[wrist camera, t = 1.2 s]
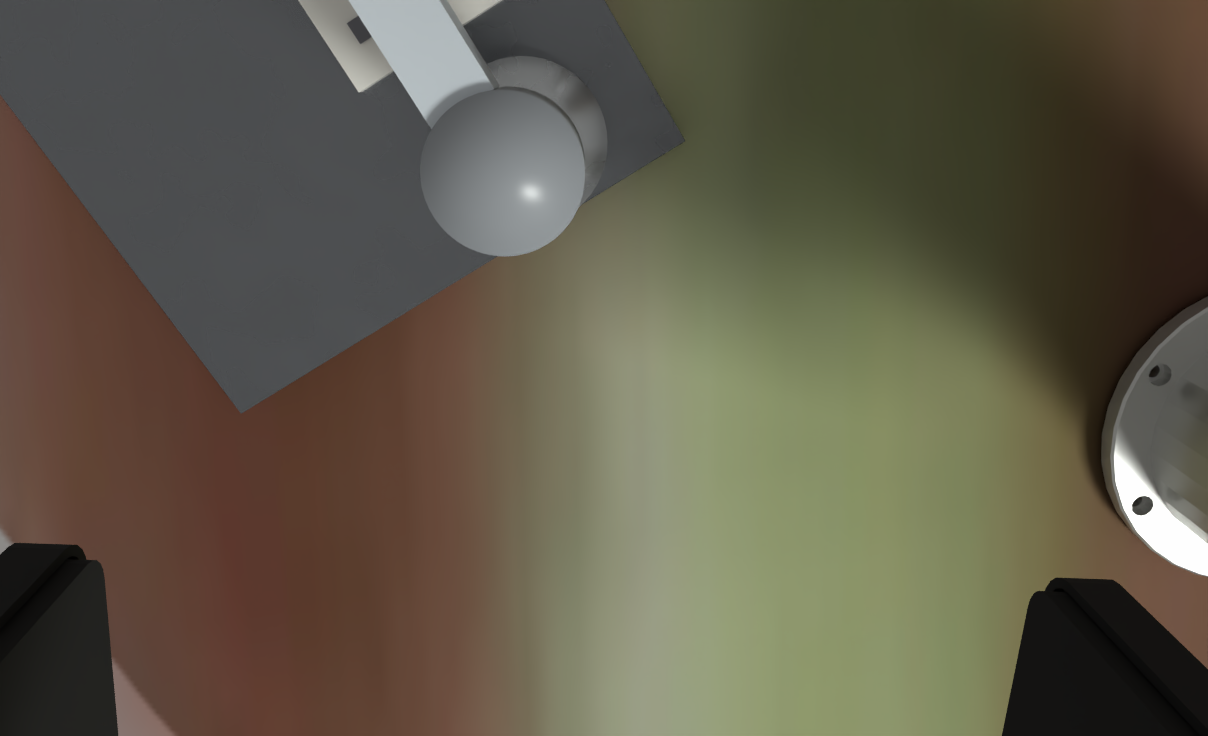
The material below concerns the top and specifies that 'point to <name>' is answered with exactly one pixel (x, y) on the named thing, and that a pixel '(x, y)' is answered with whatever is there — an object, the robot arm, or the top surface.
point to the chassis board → (277, 161)
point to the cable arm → (479, 134)
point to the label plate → (367, 36)
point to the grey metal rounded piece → (562, 105)
